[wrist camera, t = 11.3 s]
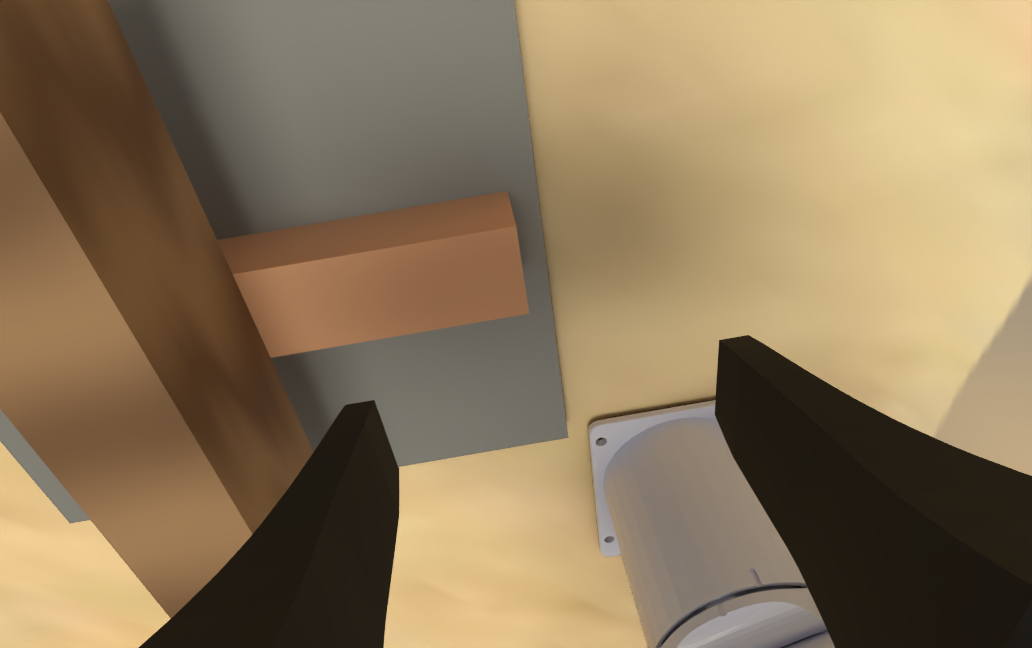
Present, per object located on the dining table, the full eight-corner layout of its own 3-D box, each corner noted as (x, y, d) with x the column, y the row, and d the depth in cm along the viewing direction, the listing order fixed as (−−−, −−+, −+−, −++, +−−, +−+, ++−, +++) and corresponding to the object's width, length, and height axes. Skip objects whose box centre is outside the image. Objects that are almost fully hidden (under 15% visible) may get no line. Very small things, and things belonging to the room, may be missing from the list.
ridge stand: (564, 421, 26) (581, 490, 23) (82, 505, 26) (28, 586, 23) (494, -131, 16) (507, -154, 12) (-324, 4, 16) (-537, 18, 12)
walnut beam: (342, 514, 23) (317, 643, 18) (251, 530, 23) (207, 662, 18) (97, -23, 13) (-74, -12, 9) (-62, 3, 13) (-311, 27, 9)
